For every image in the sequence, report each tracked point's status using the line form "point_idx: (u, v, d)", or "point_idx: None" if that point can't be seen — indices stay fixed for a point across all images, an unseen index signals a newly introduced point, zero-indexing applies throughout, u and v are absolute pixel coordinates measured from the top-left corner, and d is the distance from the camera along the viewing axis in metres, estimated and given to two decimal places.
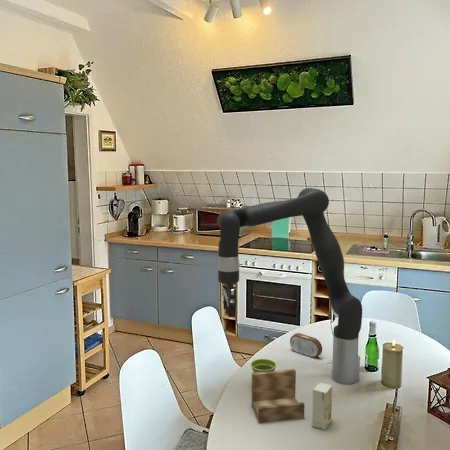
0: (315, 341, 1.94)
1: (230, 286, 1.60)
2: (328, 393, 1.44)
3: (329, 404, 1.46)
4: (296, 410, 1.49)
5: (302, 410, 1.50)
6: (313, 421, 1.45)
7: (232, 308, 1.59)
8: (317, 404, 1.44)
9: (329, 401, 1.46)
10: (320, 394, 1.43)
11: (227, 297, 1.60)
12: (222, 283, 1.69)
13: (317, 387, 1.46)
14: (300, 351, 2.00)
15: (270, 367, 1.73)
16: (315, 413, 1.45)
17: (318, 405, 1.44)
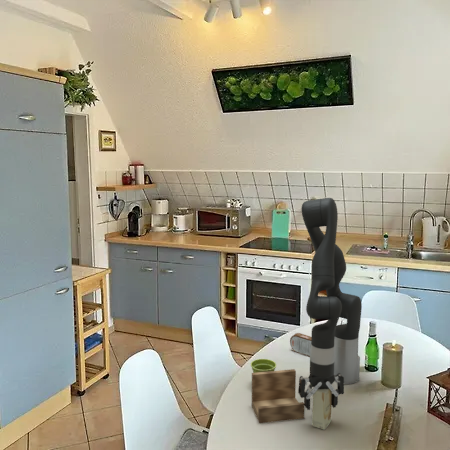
0: None
1: None
2: (328, 393, 1.44)
3: (329, 404, 1.46)
4: (296, 410, 1.49)
5: (302, 410, 1.50)
6: (313, 422, 1.45)
7: None
8: (317, 404, 1.44)
9: (329, 401, 1.46)
10: (320, 395, 1.43)
11: None
12: (305, 383, 1.43)
13: None
14: (300, 351, 2.00)
15: (270, 367, 1.73)
16: (315, 413, 1.45)
17: (318, 405, 1.44)
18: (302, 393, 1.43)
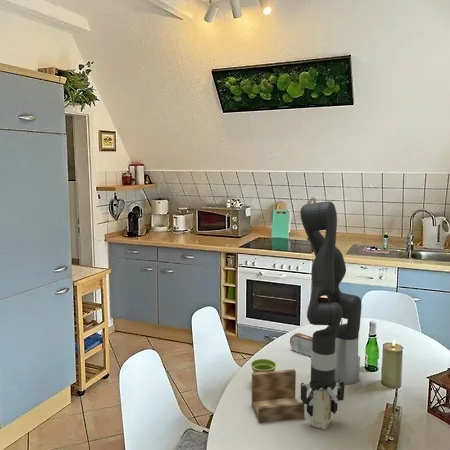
0: None
1: None
2: (328, 393, 1.44)
3: (329, 404, 1.46)
4: (296, 410, 1.49)
5: (302, 410, 1.50)
6: (313, 421, 1.45)
7: None
8: (317, 404, 1.44)
9: (329, 401, 1.46)
10: (320, 394, 1.43)
11: (334, 394, 1.45)
12: (306, 389, 1.43)
13: None
14: (300, 351, 2.00)
15: (270, 367, 1.73)
16: (315, 413, 1.45)
17: (318, 405, 1.44)
18: (304, 400, 1.44)
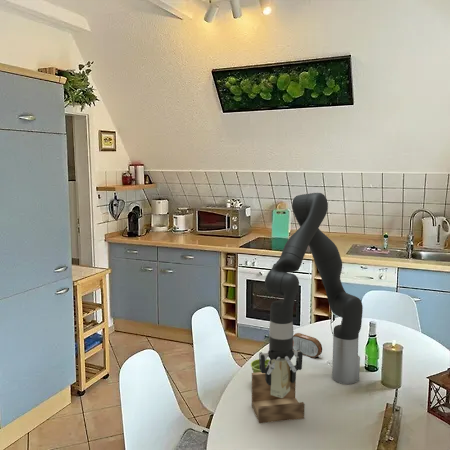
0: (315, 341, 1.94)
1: None
2: (286, 362, 1.46)
3: (287, 373, 1.48)
4: (296, 410, 1.49)
5: (302, 410, 1.50)
6: (271, 391, 1.47)
7: None
8: (275, 373, 1.46)
9: (287, 370, 1.48)
10: (278, 363, 1.45)
11: None
12: (264, 358, 1.45)
13: None
14: None
15: None
16: (273, 382, 1.47)
17: (276, 374, 1.46)
18: (262, 369, 1.46)
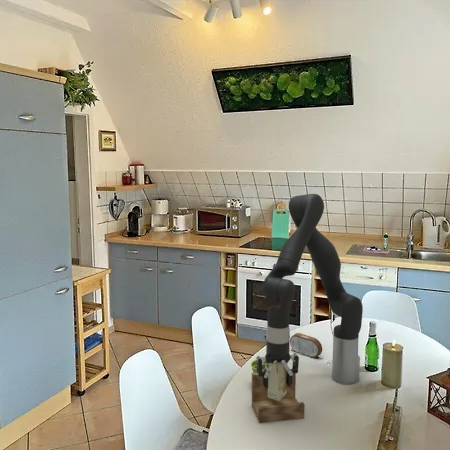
0: (315, 341, 1.94)
1: None
2: (282, 366, 1.50)
3: (284, 377, 1.52)
4: (296, 410, 1.49)
5: (302, 410, 1.50)
6: (268, 393, 1.51)
7: None
8: (272, 376, 1.50)
9: (284, 374, 1.51)
10: (274, 367, 1.49)
11: (288, 367, 1.51)
12: (261, 362, 1.49)
13: None
14: (300, 351, 2.00)
15: None
16: (270, 385, 1.50)
17: (273, 377, 1.49)
18: (260, 372, 1.50)
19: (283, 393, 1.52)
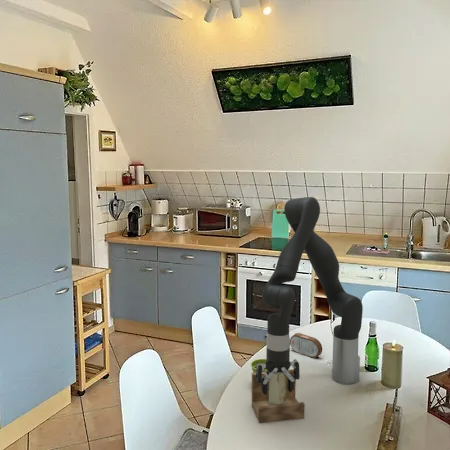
0: (315, 341, 1.94)
1: None
2: (283, 376, 1.50)
3: (285, 386, 1.52)
4: (296, 410, 1.49)
5: (302, 410, 1.50)
6: (269, 403, 1.51)
7: None
8: (273, 386, 1.50)
9: (285, 383, 1.52)
10: (275, 377, 1.49)
11: (289, 373, 1.51)
12: (261, 369, 1.49)
13: None
14: (300, 351, 2.00)
15: None
16: (271, 395, 1.51)
17: (274, 387, 1.50)
18: (259, 379, 1.50)
19: (284, 403, 1.52)
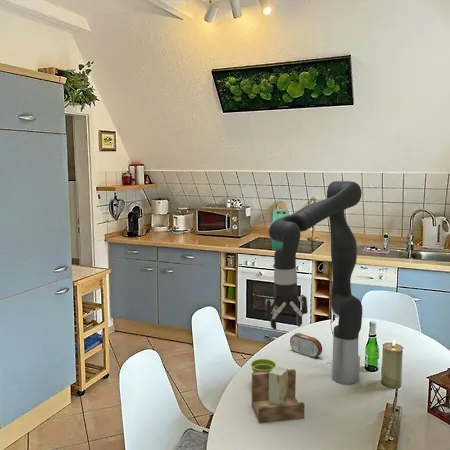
0: (315, 341, 1.94)
1: None
2: (283, 376, 1.50)
3: (285, 386, 1.52)
4: (296, 410, 1.49)
5: (302, 410, 1.50)
6: (269, 403, 1.51)
7: None
8: (273, 386, 1.50)
9: (285, 383, 1.52)
10: (275, 377, 1.49)
11: None
12: (270, 303, 1.52)
13: (273, 370, 1.52)
14: (300, 351, 2.00)
15: (270, 367, 1.73)
16: (271, 395, 1.51)
17: (274, 387, 1.50)
18: (268, 313, 1.52)
19: (284, 403, 1.52)
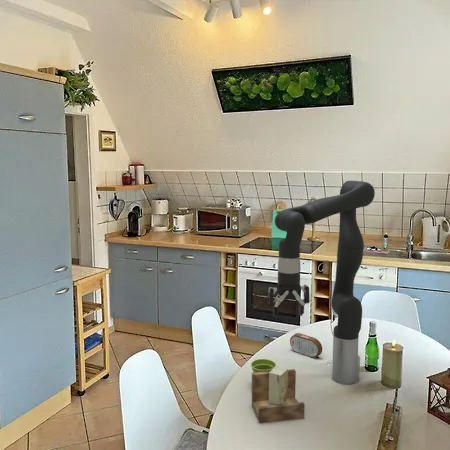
0: (315, 341, 1.94)
1: None
2: (283, 376, 1.50)
3: (285, 386, 1.52)
4: (296, 410, 1.49)
5: (302, 410, 1.50)
6: (269, 403, 1.51)
7: None
8: (273, 386, 1.50)
9: (285, 383, 1.52)
10: (275, 377, 1.49)
11: (300, 297, 1.57)
12: (273, 291, 1.55)
13: (273, 370, 1.52)
14: (300, 351, 2.00)
15: (270, 367, 1.73)
16: (271, 395, 1.51)
17: (274, 387, 1.50)
18: (270, 301, 1.55)
19: (284, 403, 1.52)
